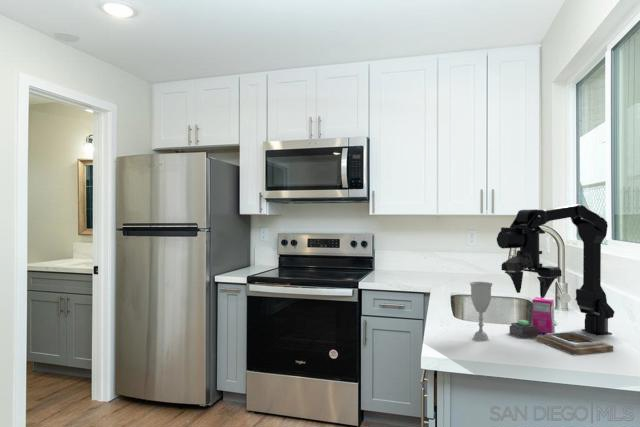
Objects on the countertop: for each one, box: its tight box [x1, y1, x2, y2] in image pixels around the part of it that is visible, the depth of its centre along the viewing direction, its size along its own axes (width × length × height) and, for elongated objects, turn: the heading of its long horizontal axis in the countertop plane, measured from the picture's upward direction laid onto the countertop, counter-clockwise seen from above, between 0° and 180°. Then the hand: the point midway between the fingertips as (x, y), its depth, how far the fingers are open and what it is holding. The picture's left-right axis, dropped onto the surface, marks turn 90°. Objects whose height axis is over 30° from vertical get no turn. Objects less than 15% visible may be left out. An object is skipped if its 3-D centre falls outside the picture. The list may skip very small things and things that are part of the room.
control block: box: [509, 322, 539, 339], centre depth 136 cm, size 6×6×4 cm
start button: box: [517, 319, 530, 326], centre depth 136 cm, size 3×3×1 cm
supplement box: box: [531, 296, 556, 335], centre depth 139 cm, size 6×6×12 cm
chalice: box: [469, 281, 493, 342], centre depth 131 cm, size 7×7×18 cm
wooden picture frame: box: [536, 330, 614, 355], centre depth 125 cm, size 14×14×2 cm
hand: (530, 295), depth 134 cm, fingers open, 9 cm apart
